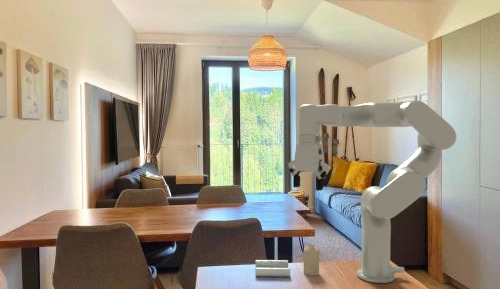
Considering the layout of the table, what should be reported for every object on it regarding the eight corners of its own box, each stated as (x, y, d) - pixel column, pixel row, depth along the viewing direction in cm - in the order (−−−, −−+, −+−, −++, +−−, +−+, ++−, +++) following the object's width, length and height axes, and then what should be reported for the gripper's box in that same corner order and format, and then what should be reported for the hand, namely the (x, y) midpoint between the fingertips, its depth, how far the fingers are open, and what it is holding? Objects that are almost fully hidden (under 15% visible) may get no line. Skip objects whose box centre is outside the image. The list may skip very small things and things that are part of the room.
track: (287, 268, 140) (287, 260, 140) (290, 277, 131) (290, 268, 131) (255, 268, 141) (255, 260, 141) (255, 277, 132) (255, 268, 132)
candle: (318, 276, 133) (319, 248, 132) (303, 275, 134) (303, 247, 134) (319, 271, 138) (319, 243, 138) (304, 270, 139) (304, 243, 139)
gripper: (336, 140, 130) (334, 190, 130) (295, 139, 142) (294, 185, 142) (324, 140, 124) (322, 192, 125) (283, 139, 136) (281, 186, 137)
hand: (307, 188), depth 133 cm, fingers open, 9 cm apart
